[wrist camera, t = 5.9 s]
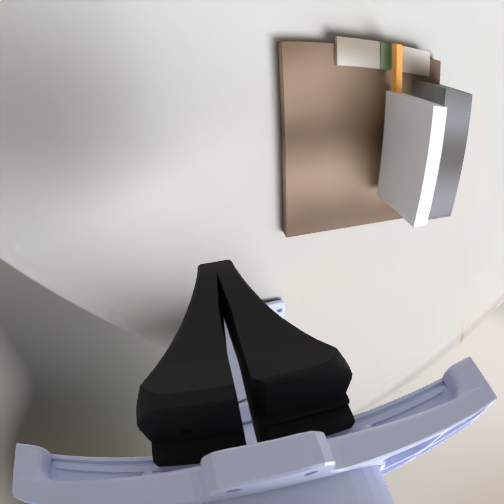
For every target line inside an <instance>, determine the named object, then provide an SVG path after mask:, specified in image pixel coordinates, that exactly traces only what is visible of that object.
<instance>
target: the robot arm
mask: <svg viewBox="0 0 504 504" xmlns="http://www.w3.org/2000/svg"><path fill="white" fill-rule="evenodd" d="M279 308H280V309H279ZM351 379H352V372H351V370H350V367H349V365H348V364H347V362H346V360H345V359H344V358H343V356H342V355H341V353H340V352H339V351H338V349H337V348H335V347H333V346H330V345H328V344H326V343H324V342H321V341H319V340H317V339H315V338H313V337H311V336H310V335H308V334H306V333H304V332H303V331H301V330H300V329H298V328H297V327H295V326H293V325H292V324H290V323H289V322H287V321H286V320H285V304H284V302H283V301H282V300H277V301H272V302H267V303H265V302H263V301H262V300H261V299H260V298H259V297H258V295H257V294H256V293H255V292H254V291H253V290H252V289H251V288H250V287H249V285H248V284H247V283H246V282H245V281H244V279H243V278H242V277H241V275H240V274H239V273H238V271H237V270H236V268H235V266H234V265H233V263H232V261H230V260H224V261H218V262H212V263H206V264H200V265H199V266H198V273H197V279H196V283H195V288H194V291H193V294H192V298H191V301H190V304H189V306H188V309H187V312H186V315H185V317H184V319H183V322H182V324H181V326H180V328H179V330H178V332H177V334H176V336H175V338H174V339H173V341H172V343H171V345H170V346H169V348H168V350H167V351H166V353H165V354H164V356H163V357H162V359H161V360H160V361H159V363H158V364H157V366H156V367H155V368H154V370H153V371H152V372H151V373H150V374H149V376H148V377H147V378H146V379H145V380H144V382H143V383H142V384H141V385H140V389H139V394H138V400H137V407H136V408H137V409H136V415H137V426H138V428H139V430H140V431H141V432H142V433H143V434H144V435H145V436H146V437H147V438H148V439H149V440H150V441H151V442H152V455H153V457H125V458H124V457H123V458H108V457H105V458H103V457H79V456H65V455H54V454H51V453H50V452H48V451H47V450H46V449H44V448H41V447H38V446H34V445H27V444H20V443H18V444H16V451H15V452H16V453H15V463H14V474H13V493H12V495H13V497H14V498H17V499H19V500H21V501H24V502H26V503H28V504H394V502H393V500H392V497H391V495H390V492H389V490H388V488H387V485H386V483H385V481H384V479H383V476H382V475H383V474H386V473H388V472H390V471H392V470H394V469H396V468H398V467H400V466H402V465H403V464H405V463H407V462H409V461H411V460H413V459H415V458H416V457H418V456H420V455H422V454H423V453H425V452H427V451H429V450H430V449H432V448H434V447H435V446H437V445H439V444H440V443H442V442H444V441H445V440H447V439H448V438H450V437H452V436H453V435H454V434H456V433H458V432H459V431H461V430H462V429H464V428H465V427H467V426H468V425H470V424H471V423H472V422H473V421H474V420H475V419H476V418H477V417H478V416H480V415H481V414H482V413H483V412H484V411H485V410H486V409H487V408H488V407H489V406H490V405H491V404H492V403H493V402H494V401H495V400H496V399H497V397H496V395H495V394H494V392H493V390H492V389H491V387H490V386H489V384H488V383H487V381H486V380H485V378H484V376H483V375H482V373H481V372H480V371H479V369H478V368H477V366H476V365H475V363H474V362H473V360H472V359H471V358H470V357H467V358H465V359H463V360H462V361H460V362H458V363H456V364H454V365H453V366H451V367H450V368H449V369H448V370H447V371H446V372H445V373H444V375H443V377H442V378H441V379H440V380H437V381H435V382H433V383H431V384H429V385H427V386H425V387H423V388H421V389H419V390H416V391H414V392H412V393H410V394H408V395H405V396H403V397H401V398H398V399H396V400H394V401H391V402H389V403H387V404H384V405H382V406H379V407H376V408H374V409H371V410H369V411H366V412H363V413H360V414H358V415H355V416H353V414H352V412H351V410H350V408H349V405H348V404H349V398H348V396H347V394H346V391H347V389H348V386H349V384H350V381H351Z"/></svg>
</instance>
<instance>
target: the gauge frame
mask: <svg viewBox="0 0 504 504" xmlns="http://www.w3.org/2000/svg"><path fill="white" fill-rule="evenodd" d="M278 56H279V76H280V100H281V129H282V168H283V232H284V234H285V236H286V237H292V236H298V235H304V234H310V233H316V232H321V231H327V230H333V229H339V228H345V227H351V226H357V225H364V224H370V223H376V222H382V221H388V220H394V219H400V218H403V217H402V216H401V215H399V214H398V213H397V212H396V211H395V210H394V209H393V208H392V207H390V206H389V205H388V204H387V203H386V202H385V201H383V200H382V199H381V198H380V197H379V196H378V195H377V189H378V181H379V173H380V164H381V155H382V145H383V133H384V120H385V104H386V91H391V89H392V44H391V43H385V42H378V41H372V40H365V39H358V38H350V37H340V36H335V43H322V42H300V41H280V42H278ZM440 62H441V61H438V60H434V59H430V52H427V51H423V50H419V49H414V48H410V47H405V46H403V56H402V91H401V92H402V93H405V94H408V95H412V96H415V97H418V98H421V99H424V100H427V101H430V102H433V103H436V104H439V105H442V106H445V107H447V115H446V124H445V132H444V139H443V146H442V152H441V159H440V164H439V170H438V175H437V181H436V186H435V190H434V195H433V200H432V204H431V208H430V213H429V217H428V220H429V219H435V218H441V217H447V216H451V212H452V208H453V204H454V200H455V196H456V192H457V188H458V183H459V179H460V174H461V169H462V164H463V159H464V153H465V148H466V142H467V135H468V128H469V121H470V112H471V103H472V94H470V93H466V92H463V91H460V90H457V89H454V88H450V87H447V86H443V85H440Z"/></svg>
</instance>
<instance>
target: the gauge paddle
mask: <svg viewBox="0 0 504 504" xmlns="http://www.w3.org/2000/svg"><path fill="white" fill-rule="evenodd" d="M402 56H403V45H401V44H395V43H392V89H391V91H386V104H385V120H384V133H383V145H382V155H381V164H380V173H379V181H378V189H377V195H378V196H379V197H380V198H381V199H382V200H383V201H385V202H386V203H387V204H388V205H389V206H390V207H392V208H393V209H394V210H395V211H396V212H397V213H398V214H399V215H401V216H402V217H403V218H404V219H405V220H406V221H407V222H408V223H409V224H411V225H412V226H413V227H418V226H423V225H427V221H428V217H429V213H430V208H431V204H432V200H433V195H434V190H435V186H436V181H437V175H438V170H439V164H440V159H441V152H442V146H443V139H444V132H445V124H446V115H447V107H445V106H442V105H439V104H436V103H433V102H430V101H427V100H424V99H421V98H418V97H415V96H412V95H408V94H405V93H402V92H401V91H402Z"/></svg>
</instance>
